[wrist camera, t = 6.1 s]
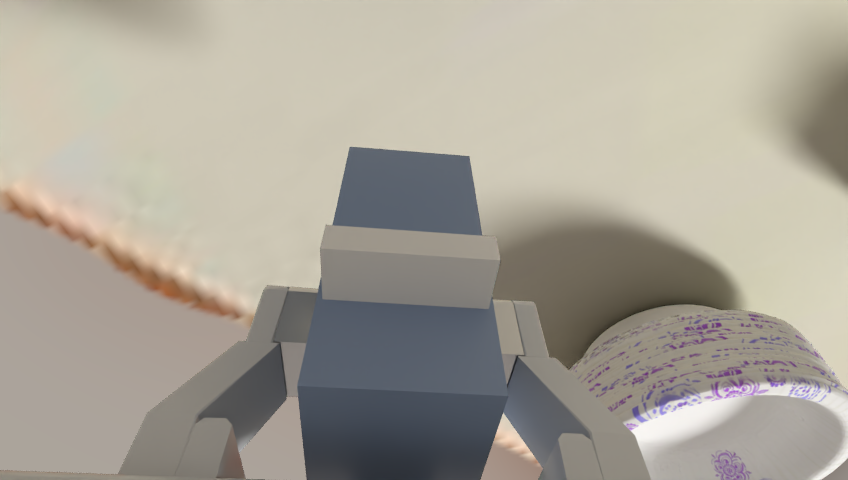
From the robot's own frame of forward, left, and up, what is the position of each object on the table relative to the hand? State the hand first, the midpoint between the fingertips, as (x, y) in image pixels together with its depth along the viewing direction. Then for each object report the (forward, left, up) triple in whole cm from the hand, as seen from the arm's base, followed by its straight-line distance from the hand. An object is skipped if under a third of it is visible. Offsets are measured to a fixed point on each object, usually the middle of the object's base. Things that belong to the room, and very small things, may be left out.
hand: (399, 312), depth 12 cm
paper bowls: (+16, +18, -14) cm, 28 cm away
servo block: (0, 0, -3) cm, 3 cm away
